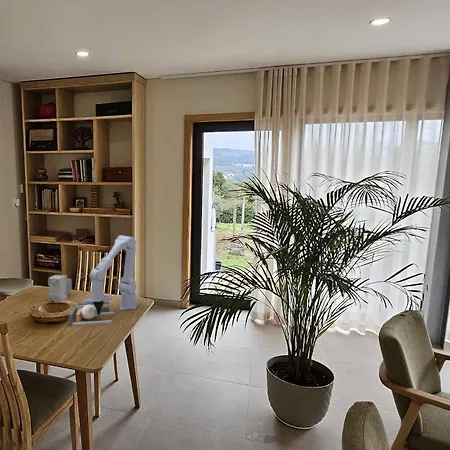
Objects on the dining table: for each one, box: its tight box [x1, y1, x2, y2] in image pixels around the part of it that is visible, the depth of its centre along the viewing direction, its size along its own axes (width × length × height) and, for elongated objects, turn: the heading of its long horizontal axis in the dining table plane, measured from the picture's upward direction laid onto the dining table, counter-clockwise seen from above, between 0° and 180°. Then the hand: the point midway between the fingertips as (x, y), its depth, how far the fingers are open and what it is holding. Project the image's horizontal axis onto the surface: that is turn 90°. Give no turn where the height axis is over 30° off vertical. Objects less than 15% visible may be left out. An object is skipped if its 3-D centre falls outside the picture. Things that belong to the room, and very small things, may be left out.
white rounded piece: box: [81, 305, 97, 320], centre depth 175 cm, size 8×8×8 cm
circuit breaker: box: [47, 274, 73, 302], centre depth 203 cm, size 8×14×15 cm, turn 174°
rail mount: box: [68, 300, 115, 327], centre depth 176 cm, size 21×16×6 cm
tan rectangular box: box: [75, 308, 83, 323], centre depth 173 cm, size 2×8×5 cm, turn 14°
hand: (98, 314), depth 175 cm, fingers closed
